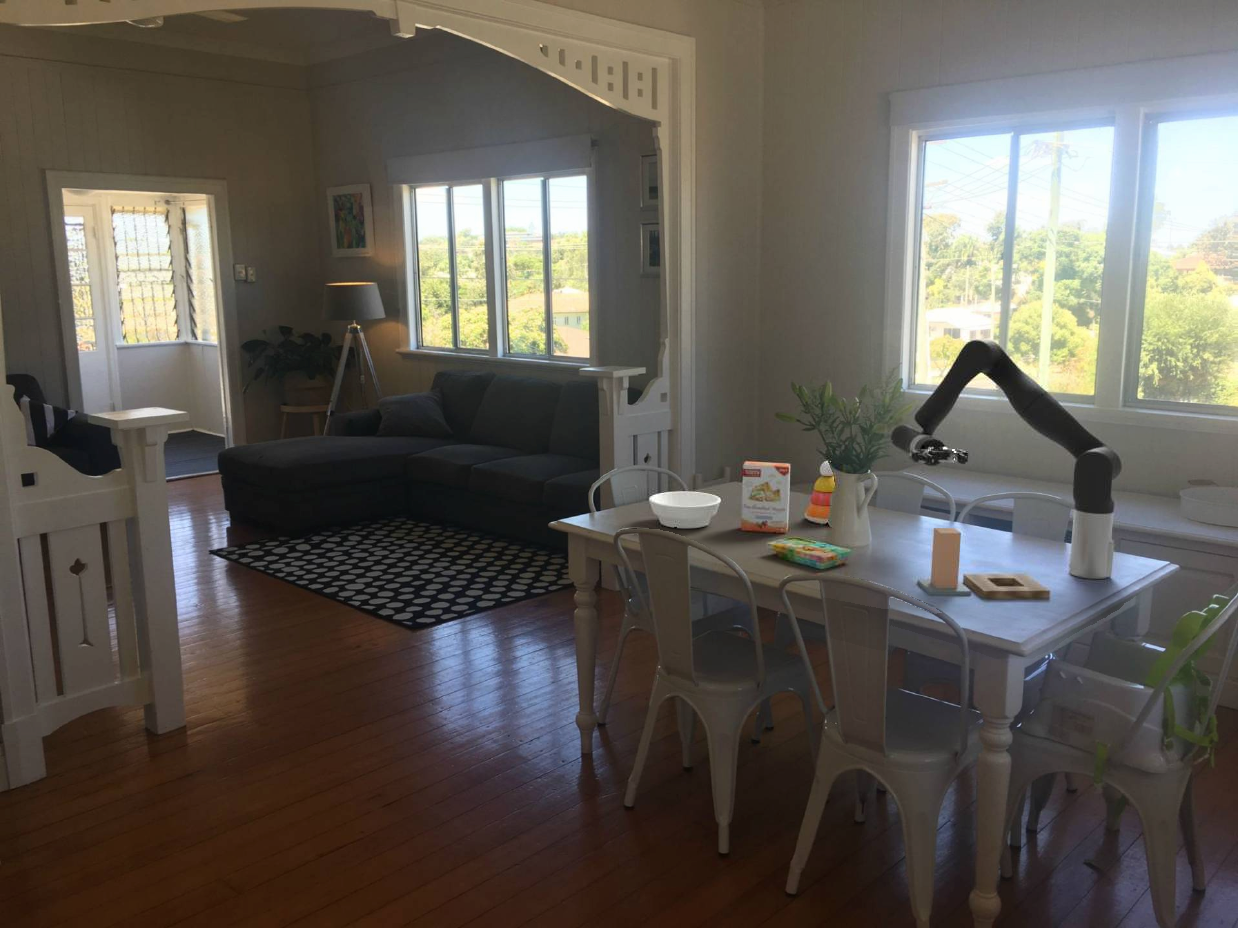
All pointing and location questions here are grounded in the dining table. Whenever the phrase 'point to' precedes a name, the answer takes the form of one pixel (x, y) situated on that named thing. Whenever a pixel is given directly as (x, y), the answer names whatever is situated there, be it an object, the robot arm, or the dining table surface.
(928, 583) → the slate pad
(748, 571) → the dining table surface
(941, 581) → the terracotta block
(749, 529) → the cracker box
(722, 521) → the dining table surface
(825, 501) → the stacking toy
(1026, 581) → the walnut puzzle board
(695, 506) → the bowl
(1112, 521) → the robot arm
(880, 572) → the dining table surface
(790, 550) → the puzzle game
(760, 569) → the dining table surface
